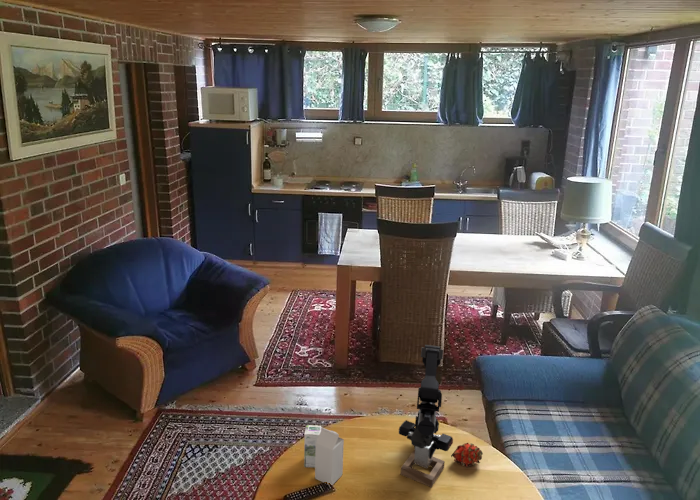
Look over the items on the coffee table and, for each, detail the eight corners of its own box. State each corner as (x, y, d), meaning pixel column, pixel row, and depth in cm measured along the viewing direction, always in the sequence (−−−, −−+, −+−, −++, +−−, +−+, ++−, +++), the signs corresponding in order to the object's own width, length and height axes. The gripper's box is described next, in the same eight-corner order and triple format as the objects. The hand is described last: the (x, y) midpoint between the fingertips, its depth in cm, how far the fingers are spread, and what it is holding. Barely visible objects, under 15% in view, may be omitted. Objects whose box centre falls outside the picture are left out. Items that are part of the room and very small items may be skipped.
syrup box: (320, 458, 205) (321, 424, 201) (319, 468, 200) (320, 434, 196) (305, 457, 206) (306, 423, 201) (303, 468, 200) (304, 433, 196)
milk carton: (331, 486, 191) (332, 439, 186) (314, 478, 195) (315, 432, 189) (342, 475, 197) (344, 429, 192) (326, 467, 201) (327, 422, 195)
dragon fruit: (484, 468, 206) (452, 472, 206) (478, 445, 211) (447, 448, 211) (487, 461, 199) (454, 465, 199) (481, 438, 204) (449, 441, 204)
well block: (414, 456, 208) (414, 449, 207) (444, 467, 203) (444, 461, 202) (400, 474, 198) (400, 467, 197) (431, 487, 193) (432, 480, 192)
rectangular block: (419, 455, 203) (421, 437, 200) (432, 460, 200) (433, 442, 198) (414, 463, 199) (415, 444, 196) (426, 468, 196) (428, 449, 194)
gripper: (393, 420, 192) (390, 458, 196) (443, 438, 183) (439, 478, 188) (406, 405, 201) (403, 442, 206) (455, 422, 192) (451, 459, 197)
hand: (423, 455), depth 199 cm, fingers closed on rectangular block, 5 cm apart
